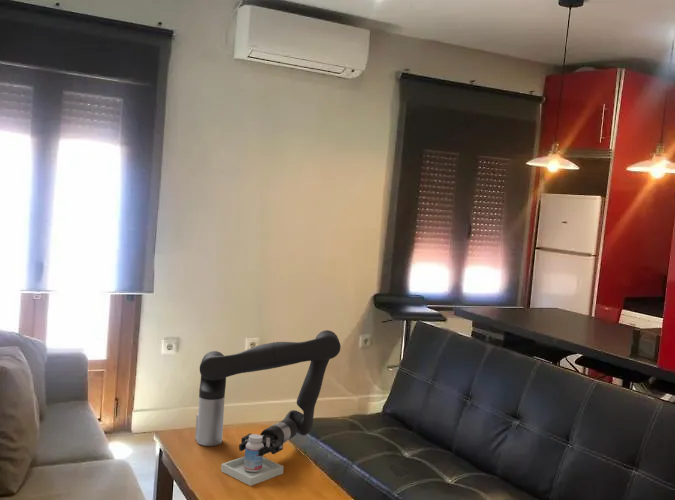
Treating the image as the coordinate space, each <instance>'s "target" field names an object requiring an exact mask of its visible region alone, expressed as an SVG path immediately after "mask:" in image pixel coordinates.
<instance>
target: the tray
mask: <svg viewBox="0 0 675 500" xmlns="http://www.w3.org/2000/svg"><path fill="white" fill-rule="evenodd" d="M244 457H245V455H244V456H241V457H238V458H235V459H233V460H229V461H227V462H223V463H221V465H220V466H221V467H220V472H222V473H224V474H226V475H227V476H230V477H232V478H233V479H236V480H238V481H240V482H242V483H244V484H246V485H248V486H250V487H251V486H254V485H257V484H259V483H262V482H264V481H268V480H270V479H272V478H276V477H277V476H280V475H283V474H284V467H285V466H283V465H282V464H280V463H277V462H275V461H272V460H271V459H269V458H266V457H264V456H263V461H262V469H261V471H259V472H249V471H246V470H245V469H244Z"/></svg>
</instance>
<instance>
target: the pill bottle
mask: <svg viewBox="0 0 675 500" xmlns="http://www.w3.org/2000/svg"><path fill="white" fill-rule="evenodd" d="M250 434H251V435H249V442H247V444H246V448H245V449H244V456H245V457H244V456H243V457H244V469H245V470H246V471H249V472H259V471H261V469H262V461H263V457H264V455H262V456H259V455H258V454H259V449H261V448H263V447H264V445H263V443H262V439H263V437H262V436H261V435H260V434H256V433H250Z"/></svg>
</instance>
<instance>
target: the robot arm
mask: <svg viewBox="0 0 675 500" xmlns="http://www.w3.org/2000/svg"><path fill="white" fill-rule="evenodd" d="M341 346H342V345H341V343H340V339H339V337H338V335H337V334H336V333H335V331H334V332H333V331H332V330H328V329H327V330H322V331H320V332H318V334H317V335H316V336H315V338H314V339H310V340H306V341H305V340H304V341H299V342H298V341H297V342H293V341H274V342H268V343H263V344H260V345H259V344H258V345H256V346H253V347H251V348H248V349H246V350H244V351H241V352H238V353H234V354H227V355H224V354H223V353H222V352H220V351H217V350H214V351H213V350H212V351H209V352H207V353H206V354H205V355H204V356H203V357H202V360H201V362H200V365H199V372H200V382H199V383H200V384H199V390H198V391H199V392H198V393H199V394H198V411H197V414H196V416H195V417H196V419H195V435H194V436H195V441H196V443H197V444H199V445H201V446H204V447H206V446H207V447H213V446H214V447H215V446H219V445H221V444H222V443H223V436H224V435H223V434H224V432H223V431H224V418H225V417H224V415H225V414H224V412H225V395H226V385H227V378H229V377H232V376H235V375H239V374H245V373H253V372H258V371H265V370H270V369H276V368H281V367H285V366H290V365H291V366H292V365H294V364H299V363H300V364H301V363H304V362H310V363H309V367H308V370H307V372H306V376H305V377H304V380H303V382H302V384H301V388H300V390H299V393H298V396H297V399H296V405H297V407H299V408H300V409H301V410H302V412H303V413H302V412H300V411H298V410H295V409H293V410H290V411H288V413H287V414H286V415H285V417H284V418H283V419H282V420H281V421H279V422H277V423H274V424H272V425H270V426H269V427H267V428H265V429H263V430H262V431H261V432H260V433H259V435H261V436H262V437H263V439H262V443H263V445H264V447H263V448H261V449H259V454H258V455H259V456H262V455H263V456H265V455H267V454H271V455H276V454H277V453H279V452H281V451H282V450H283V449H284V444H285V443H287V441H289V440H291V439H292V438H294V437H295V436H296V435H297V434H299V435H301V436H307V435H308V434H309V433H311V431H312V430H313V427H314V418H315V417H314V415H315V407H316V405H317V404H316V403H317V402H318V398H319V395H320V392H321V389H322V386H323V381H324V376H325V373H326V370H327V366H328V364H329V363H330V360H332V359H334V358H336V357H337V355H339V354H340V351H341V348H342V347H341ZM251 434H252V433H248V434H246V435H244V436H243V437H241V440H240V441H241V443H239V444H238V445H239V446H238V449H239V451H240V452H243V451H245V448H246V444H247V442H249V435H251Z"/></svg>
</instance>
